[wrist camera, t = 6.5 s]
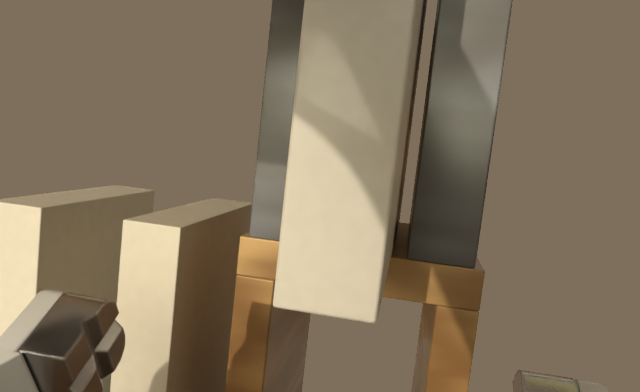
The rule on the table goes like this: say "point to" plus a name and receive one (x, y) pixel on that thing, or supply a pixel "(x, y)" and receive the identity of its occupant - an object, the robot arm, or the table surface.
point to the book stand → (411, 239)
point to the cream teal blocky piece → (133, 276)
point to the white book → (347, 154)
